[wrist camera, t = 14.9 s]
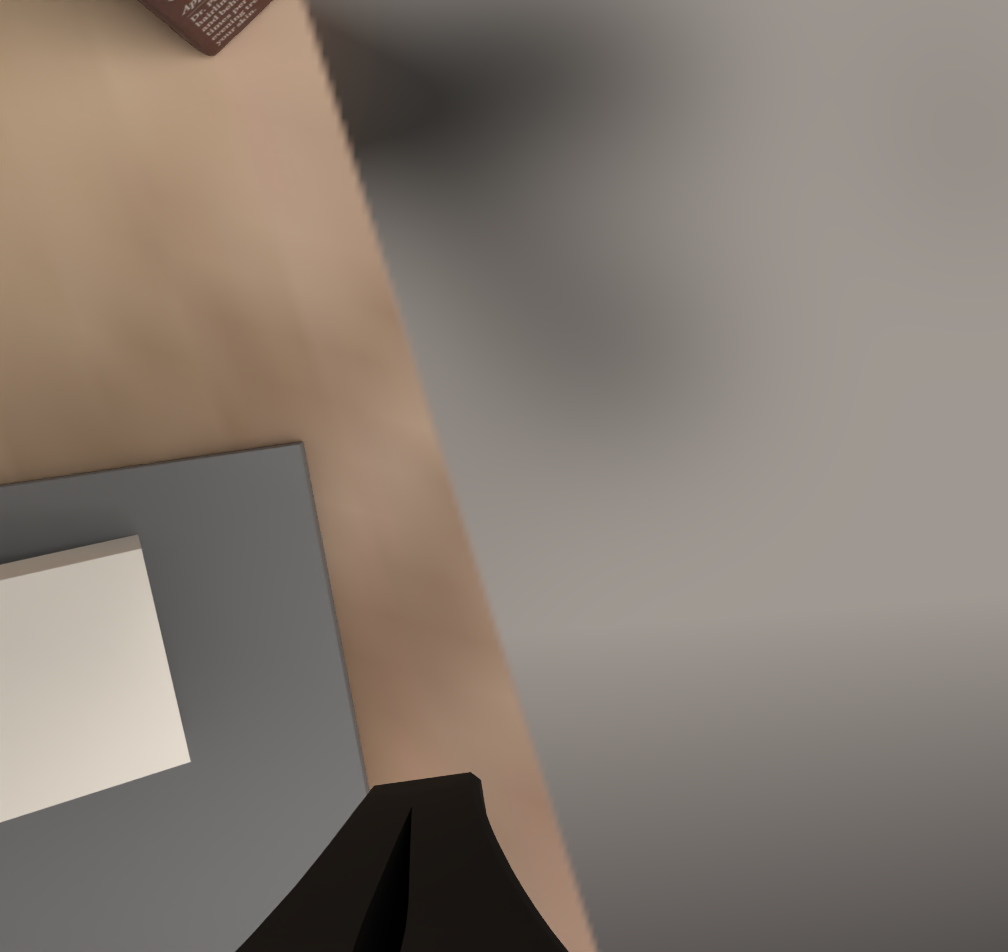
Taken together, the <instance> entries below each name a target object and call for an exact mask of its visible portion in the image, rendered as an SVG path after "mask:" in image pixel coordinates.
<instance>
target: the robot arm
mask: <svg viewBox="0 0 1008 952" xmlns="http://www.w3.org/2000/svg"><path fill="white" fill-rule="evenodd" d="M235 952H568V950H567V949H566V948H565V947H564V945H563V944H562V943H561V942H560V940H559V939H558V938H557V937H556V935H555V934H554V933H553V931H552V930H551V929H550V927H549V926H548V925H547V923H546V922H545V921H544V919H543V918H542V916H541V915H540V913H539V912H538V910H537V909H536V908H535V906H534V904H533V903H532V901H531V900H530V898H529V897H528V895H527V894H526V892H525V890H524V889H523V887H522V886H521V884H520V882H519V881H518V879H517V877H516V876H515V874H514V872H513V870H512V869H511V867H510V865H509V863H508V861H507V859H506V857H505V855H504V853H503V851H502V849H501V847H500V845H499V843H498V841H497V839H496V837H495V835H494V833H493V830H492V828H491V825H490V823H489V820H488V817H487V815H486V809H485V803H484V797H483V790H482V784H481V780H480V779H479V778H478V777H476V776H475V775H474V774H472V773H471V772H469V773H462V774H454V775H447V776H440V777H433V778H426V779H419V780H412V781H405V782H398V783H390V784H383V785H376V786H374V787H373V788H372V789H371V790H370V792H369V793H368V794H367V795H366V797H365V798H364V799H363V800H362V802H361V803H360V804H359V805H358V807H357V808H356V809H355V810H354V812H353V813H352V814H351V816H350V817H349V818H348V820H347V821H346V822H345V824H344V825H343V826H342V828H341V829H340V830H339V831H338V833H337V834H336V835H335V837H334V838H333V839H332V841H331V842H330V843H329V844H328V846H327V847H326V848H325V850H324V851H323V852H322V853H321V855H320V856H319V857H318V858H317V860H316V861H315V862H314V863H313V865H312V866H311V867H310V868H309V870H308V871H307V872H306V873H305V874H304V876H303V877H302V878H301V879H300V881H299V882H298V883H297V884H296V886H295V887H294V888H293V889H292V890H291V891H290V892H289V893H288V895H287V896H286V897H285V898H284V899H283V900H282V901H281V902H280V903H279V905H278V906H277V907H276V908H275V909H274V910H273V911H272V912H271V913H270V915H269V916H268V917H267V918H266V919H265V920H264V921H263V922H262V923H261V925H260V926H259V927H258V928H257V929H256V930H255V931H254V932H253V933H252V935H251V936H250V937H249V938H248V939H247V940H246V941H245V942H244V943H243V944H242V945H241V946H240V947H239V948H238V949H237V950H236V951H235Z"/></svg>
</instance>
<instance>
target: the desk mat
mask: <svg viewBox="0 0 1008 952" xmlns="http://www.w3.org/2000/svg"><path fill="white" fill-rule="evenodd" d="M137 534H138V536H139V540H140V544H141V549H142V553H143V557H144V562H145V566H146V570H147V575H148V579H149V583H150V588H151V592H152V596H153V601H154V605H155V609H156V614H157V618H158V622H159V626H160V631H161V635H162V639H163V644H164V648H165V652H166V657H167V661H168V665H169V670H170V674H171V678H172V683H173V687H174V691H175V696H176V700H177V704H178V709H179V713H180V717H181V722H182V726H183V730H184V734H185V739H186V743H187V748H188V752H189V756H190V761H191V762H189V763H186V764H182V765H179V766H176V767H173V768H170V769H167V770H164V771H160V772H157V773H154V774H151V775H148V776H145V777H142V778H138V779H135V780H132V781H129V782H126V783H123V784H120V785H116V786H113V787H110V788H107V789H104V790H101V791H98V792H95V793H91V794H88V795H85V796H82V797H79V798H76V799H73V800H69V801H66V802H63V803H60V804H57V805H54V806H51V807H47V808H44V809H41V810H38V811H35V812H32V813H29V814H25V815H22V816H19V817H16V818H13V819H10V820H7V821H3V822H0V952H235V951H236V950H237V949H238V948H239V947H240V946H241V945H242V944H243V943H244V942H245V941H246V940H247V939H248V938H249V937H250V936H251V935H252V933H253V932H254V931H255V930H256V929H257V928H258V927H259V926H260V925H261V923H262V922H263V921H264V920H265V919H266V918H267V917H268V916H269V915H270V913H271V912H272V911H273V910H274V909H275V908H276V907H277V906H278V905H279V903H280V902H281V901H282V900H283V899H284V898H285V897H286V896H287V895H288V893H289V892H290V891H291V890H292V889H293V888H294V887H295V886H296V884H297V883H298V882H299V881H300V879H301V878H302V877H303V876H304V874H305V873H306V872H307V871H308V870H309V868H310V867H311V866H312V865H313V863H314V862H315V861H316V860H317V858H318V857H319V856H320V855H321V853H322V852H323V851H324V850H325V848H326V847H327V846H328V844H329V843H330V842H331V841H332V839H333V838H334V837H335V835H336V834H337V833H338V831H339V830H340V829H341V828H342V826H343V825H344V824H345V822H346V821H347V820H348V818H349V817H350V816H351V814H352V813H353V812H354V810H355V809H356V808H357V807H358V805H359V804H360V803H361V802H362V800H363V799H364V798H365V797H366V795H367V794H368V793H369V792H370V790H369V785H368V780H367V775H366V769H365V764H364V759H363V754H362V748H361V743H360V738H359V733H358V727H357V722H356V717H355V712H354V706H353V701H352V696H351V691H350V685H349V680H348V675H347V670H346V664H345V659H344V654H343V649H342V643H341V638H340V633H339V628H338V622H337V617H336V612H335V607H334V601H333V596H332V591H331V586H330V580H329V575H328V570H327V565H326V559H325V554H324V549H323V544H322V538H321V533H320V528H319V523H318V517H317V512H316V507H315V502H314V496H313V491H312V486H311V481H310V475H309V470H308V465H307V460H306V454H305V449H304V444H303V442H296V443H289V444H282V445H275V446H268V447H262V448H255V449H248V450H241V451H234V452H227V453H220V454H213V455H206V456H199V457H192V458H185V459H178V460H171V461H164V462H157V463H150V464H143V465H136V466H129V467H122V468H116V469H109V470H102V471H95V472H88V473H81V474H74V475H67V476H60V477H53V478H46V479H39V480H32V481H25V482H18V483H11V484H4V485H0V565H1V564H6V563H10V562H15V561H19V560H24V559H28V558H33V557H37V556H42V555H47V554H51V553H56V552H60V551H65V550H69V549H74V548H78V547H83V546H87V545H92V544H96V543H101V542H105V541H110V540H115V539H119V538H124V537H128V536H133V535H137Z"/></svg>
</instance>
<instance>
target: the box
mask: <svg viewBox="0 0 1008 952" xmlns="http://www.w3.org/2000/svg"><path fill="white" fill-rule="evenodd" d="M138 1H140V2H141V3H142V4H143V5H144V6H145V7H146V8H147V9H149V10H150V11H152V12H153V13H154V14H155V15H156V16H158V17H159V18H160V19H161V20H162V21H163V22H165V23H166V24H168V25H169V26H170V27H171V28H172V29H173V30H174V31H175V32H176V33H178V34H179V35H180V36H181V37H182V38H184V39H185V40H186V41H187V42H189V43H190V44H191V45H193V46H194V47H195V48H197V49H198V50H199V51H201V52H203V53H205V54H207V55H209V56H214V55H216V54H217V53H218V52H219V51H220V50H221V49H222V48H223V47H224V46H225V45H226V44H227V43H228V42H229V41H230V40H231V39H232V38H233V37H235V36H236V35H237V34H238V33H239V32H240V31H241V30H242V29H243V28H244V27H245V26H246V25H248V24H249V23H250V22H251V21H252V20H253V19H254V18H255V17H256V16H257V15H258V14H259V13H260V12H261V11H262V10H263V9H264V8H265V7H266V6H267V5H268V4H269V3H270V2H271V1H272V0H138Z"/></svg>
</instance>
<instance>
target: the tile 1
mask: <svg viewBox="0 0 1008 952" xmlns="http://www.w3.org/2000/svg"><path fill="white" fill-rule="evenodd" d="M189 762H191V761H190V756H189V752H188V748H187V743H186V739H185V734H184V730H183V726H182V722H181V717H180V713H179V709H178V704H177V700H176V696H175V691H174V687H173V683H172V678H171V674H170V670H169V665H168V661H167V657H166V652H165V648H164V644H163V639H162V635H161V631H160V626H159V622H158V618H157V614H156V609H155V605H154V601H153V596H152V592H151V588H150V583H149V579H148V575H147V570H146V566H145V562H144V557H143V553H142V549H141V544H140V540H139V536H138V534H137V535H133V536H128V537H124V538H119V539H115V540H110V541H105V542H101V543H96V544H92V545H87V546H83V547H78V548H74V549H69V550H65V551H60V552H56V553H51V554H47V555H42V556H37V557H33V558H28V559H24V560H19V561H15V562H10V563H6V564H1V565H0V822H3V821H7V820H10V819H13V818H16V817H19V816H22V815H25V814H29V813H32V812H35V811H38V810H41V809H44V808H47V807H51V806H54V805H57V804H60V803H63V802H66V801H69V800H73V799H76V798H79V797H82V796H85V795H88V794H91V793H95V792H98V791H101V790H104V789H107V788H110V787H113V786H116V785H120V784H123V783H126V782H129V781H132V780H135V779H138V778H142V777H145V776H148V775H151V774H154V773H157V772H160V771H164V770H167V769H170V768H173V767H176V766H179V765H182V764H186V763H189Z"/></svg>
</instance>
